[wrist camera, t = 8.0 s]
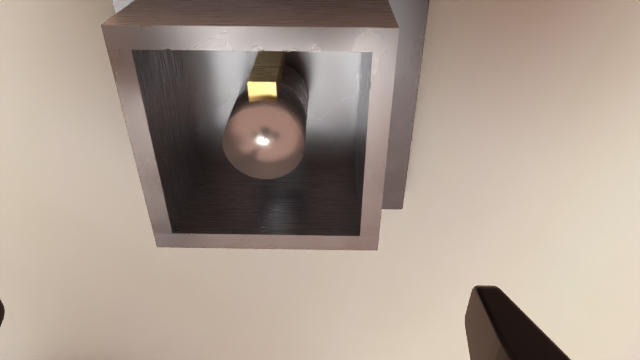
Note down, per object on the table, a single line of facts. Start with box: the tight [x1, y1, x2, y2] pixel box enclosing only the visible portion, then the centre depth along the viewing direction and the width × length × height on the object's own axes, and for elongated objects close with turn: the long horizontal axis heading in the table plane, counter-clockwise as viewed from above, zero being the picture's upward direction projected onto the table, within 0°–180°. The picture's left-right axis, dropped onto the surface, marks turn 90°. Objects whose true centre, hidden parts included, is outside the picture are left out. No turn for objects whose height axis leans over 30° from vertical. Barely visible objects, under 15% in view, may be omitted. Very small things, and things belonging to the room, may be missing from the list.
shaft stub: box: [112, 0, 429, 209], centre depth 16 cm, size 10×10×4 cm
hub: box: [101, 0, 399, 250], centre depth 15 cm, size 7×7×4 cm
